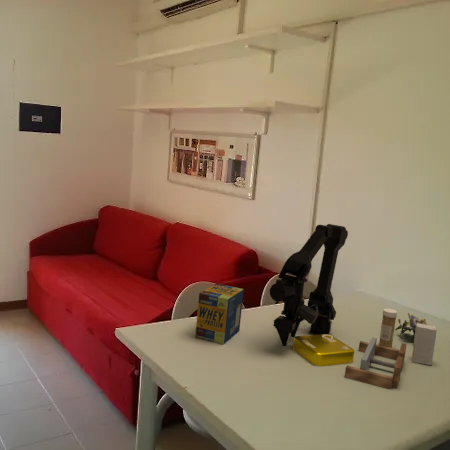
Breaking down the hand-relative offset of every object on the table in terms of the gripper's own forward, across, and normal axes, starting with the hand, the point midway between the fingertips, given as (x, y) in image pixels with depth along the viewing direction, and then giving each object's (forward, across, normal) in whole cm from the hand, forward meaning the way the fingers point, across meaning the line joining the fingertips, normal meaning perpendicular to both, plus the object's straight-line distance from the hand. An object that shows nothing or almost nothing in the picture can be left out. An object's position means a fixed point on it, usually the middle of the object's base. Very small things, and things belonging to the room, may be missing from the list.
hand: (288, 341), depth 164 cm
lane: (+2, 0, -28) cm, 28 cm away
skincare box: (+2, +15, -41) cm, 43 cm away
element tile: (+2, 0, -12) cm, 12 cm away
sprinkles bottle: (+2, +20, -29) cm, 35 cm away
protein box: (+2, -5, +23) cm, 24 cm away
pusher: (+1, 0, -30) cm, 30 cm away
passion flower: (+2, +35, -36) cm, 50 cm away
